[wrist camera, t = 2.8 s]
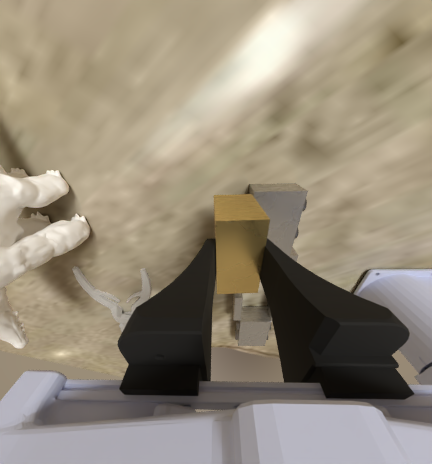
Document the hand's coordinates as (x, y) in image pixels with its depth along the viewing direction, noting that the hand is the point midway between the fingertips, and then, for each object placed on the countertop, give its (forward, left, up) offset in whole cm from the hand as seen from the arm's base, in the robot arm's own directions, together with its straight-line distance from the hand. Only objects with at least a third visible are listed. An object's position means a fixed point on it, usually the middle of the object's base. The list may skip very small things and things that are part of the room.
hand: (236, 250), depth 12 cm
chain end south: (-4, +3, -6) cm, 8 cm away
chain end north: (-4, +17, -6) cm, 18 cm away
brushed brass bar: (0, 0, -3) cm, 3 cm away
